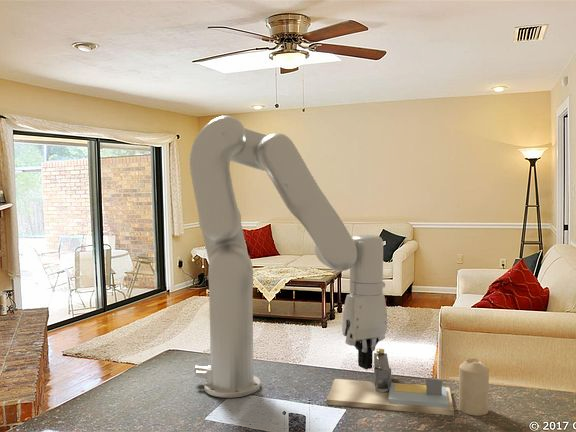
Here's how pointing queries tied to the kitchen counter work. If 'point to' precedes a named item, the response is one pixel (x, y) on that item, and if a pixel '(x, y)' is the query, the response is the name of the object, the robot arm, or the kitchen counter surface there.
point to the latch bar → (381, 369)
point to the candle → (473, 387)
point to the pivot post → (382, 389)
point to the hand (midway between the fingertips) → (365, 367)
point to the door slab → (419, 394)
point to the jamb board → (376, 398)
